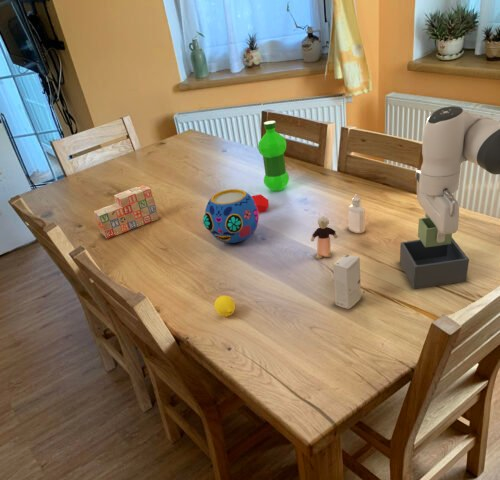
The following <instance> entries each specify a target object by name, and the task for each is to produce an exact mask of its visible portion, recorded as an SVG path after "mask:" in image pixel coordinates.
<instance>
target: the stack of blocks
mask: <svg viewBox="0 0 500 480" xmlns="http://www.w3.org/2000/svg"><path fill="white" fill-rule="evenodd" d="M113 197H114V200H115V203H113V204H110V205H107V206H104V207H102V208H99V209H96V210H94V211H93V214H94V217H95V220H96V223H97V226H98V228H99V232H100V233H101V235H102V236H103V237H105V238H106V239H110V238H113V237H115V236H118V235H121V234H124V233H126V232H128V231H131V230H134V229H137V228H139V227H141V226H144V225H147V224H150V223H152V222H154V221H157V220H160V217H159V214H158V210H157V207H156V203H155V199H154V196H153V193H152V189H151V188H150V187H149V186H147V185H145V184H141V185H138V186H135V187H132V188H129V189H126V190H124V191H121V192H118V193H116V194H114V195H113ZM153 218H154V219H153ZM145 221H146V222H145ZM142 222H143V223H142ZM140 223H141V224H140ZM137 224H138V225H137ZM134 225H135V226H134ZM132 226H133V227H132ZM127 228H128V229H127ZM122 230H123V231H122ZM117 232H118V233H117ZM114 233H115V234H114ZM111 234H112V235H111ZM109 235H110V236H109ZM106 236H107V237H106Z"/></svg>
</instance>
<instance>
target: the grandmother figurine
mask: <svg viewBox="0 0 500 480" xmlns="http://www.w3.org/2000/svg"><path fill="white" fill-rule="evenodd" d="M329 224H330V220H329V219H328V217H326V216H319V217H318V219H317V225H318V227H317V228H316V230H314V232H313V234H312V236H311V238H310V241H311V242H314V241H315V240H316V238H317V240H316V242H317V243H316V244H317V245H316V248H317V249H316V251H317V254H316V256H315V258H316V259H322V258H323V257H324V258H331V257H332V254H331V238H330V237H331V236H332V237H333V238H334V239H337V238H338V234H337V232H336V230H334V229H333V228H331V227H329V226H328V225H329ZM330 235H331V236H330Z"/></svg>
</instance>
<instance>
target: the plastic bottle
mask: <svg viewBox="0 0 500 480" xmlns="http://www.w3.org/2000/svg"><path fill="white" fill-rule="evenodd" d="M276 127H277V124H276V121H275V120H267V121H264V122H263V129H264V130H265V133H264V134H263V136H262V138H260V140H259V142H258V144H257V147H258V148H257V149H258V153H259V154H260V155H261V156H262V159H263V160H262V161H263V167H264V173H265V174H264V177H263V184H264V185H265V186H266V188H268V189H269V190H270V191H272V192H281V191H283V190H284V189H285V188H286V187H287V185H288V183H289V180H290V176H289V173H288V172H287V168H286V160H285V152H286V150H287V140H286V138H285V137H284V136H283V135H282V134H280V133H278V132H277V131H276Z"/></svg>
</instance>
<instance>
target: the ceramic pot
mask: <svg viewBox="0 0 500 480" xmlns="http://www.w3.org/2000/svg"><path fill="white" fill-rule="evenodd" d="M251 196H252V195H250V194H249V193H248V192H247V191H246V190H245V191H244V190H243V189H239V188H238V189H237V188H233V189H231V188H230V189H225V190H221V191H218V192H216V193H215V194H213V195H212V196H211V197H210V198H209V200H208V201H207V204H206V206H205V211H204V215H203V218H202V223H203V226H204V227H205V229H206V230H208V231H209V232H210V234H211V235H212V236H213V237H214V238H215V240H217V241H220V242H222V243H228V244H236V243H240V242H243V241H245V240H247V239H248V238H250V237H251V236H253V234H254V233H255V232H256V230H257V227H258V225H259V219H260V213H259V212H258V208H257V206H256V204H255V201H254V199H253V198H252V197H251Z"/></svg>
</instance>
